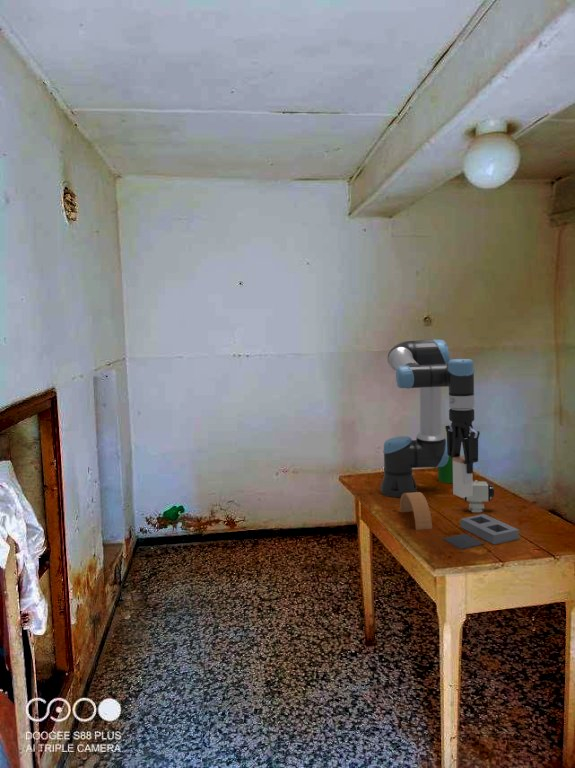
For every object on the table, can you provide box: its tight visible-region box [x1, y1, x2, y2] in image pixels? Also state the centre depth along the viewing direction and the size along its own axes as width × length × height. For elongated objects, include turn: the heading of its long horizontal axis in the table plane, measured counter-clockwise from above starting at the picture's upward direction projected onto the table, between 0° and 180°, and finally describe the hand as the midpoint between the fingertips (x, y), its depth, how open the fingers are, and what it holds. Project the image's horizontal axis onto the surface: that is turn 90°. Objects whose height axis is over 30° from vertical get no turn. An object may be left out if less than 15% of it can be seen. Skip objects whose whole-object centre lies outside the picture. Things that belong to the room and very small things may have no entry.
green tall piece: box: [437, 451, 453, 484], centre depth 228 cm, size 10×9×20 cm
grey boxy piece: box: [459, 513, 520, 545], centre depth 168 cm, size 16×10×4 cm, turn 20°
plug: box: [452, 455, 474, 499], centre depth 160 cm, size 4×4×12 cm
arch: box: [399, 491, 433, 531], centre depth 183 cm, size 6×20×10 cm, turn 3°
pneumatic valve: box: [463, 479, 495, 514], centre depth 189 cm, size 6×12×12 cm, turn 78°
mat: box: [442, 532, 485, 550], centre depth 162 cm, size 9×9×1 cm
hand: (462, 480), depth 160 cm, fingers closed on plug, 4 cm apart
